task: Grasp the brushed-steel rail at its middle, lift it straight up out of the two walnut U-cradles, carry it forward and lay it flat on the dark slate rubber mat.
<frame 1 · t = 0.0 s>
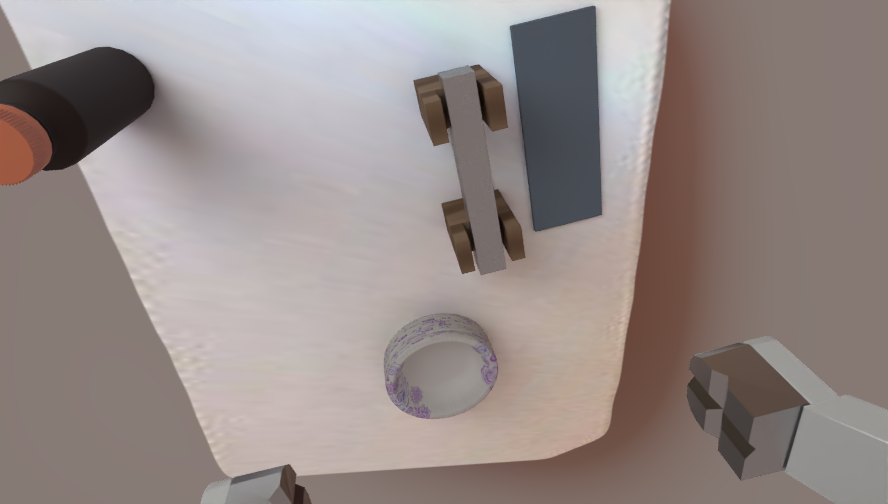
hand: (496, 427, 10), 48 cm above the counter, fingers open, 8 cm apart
cradles: (461, 154, 58), on the counter
mat: (560, 130, 58), on the counter
paper bowls: (434, 340, 72), on the counter
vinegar: (118, 82, 49), on the counter
rail: (472, 174, 53), point 6 cm above the counter, touching cradles
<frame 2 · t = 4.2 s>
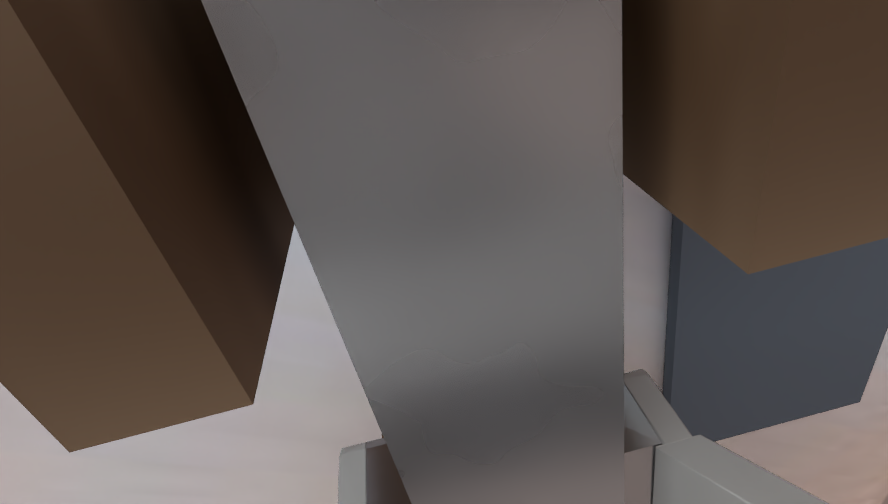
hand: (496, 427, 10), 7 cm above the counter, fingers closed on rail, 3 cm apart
cradles: (445, 257, 15), on the counter
mat: (808, 164, 16), on the counter
rail: (489, 405, 10), point 6 cm above the counter, touching cradles, gripper
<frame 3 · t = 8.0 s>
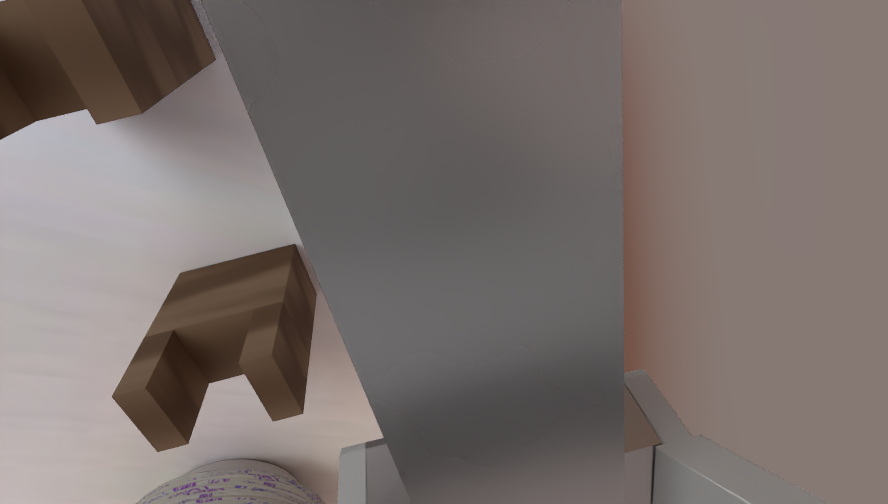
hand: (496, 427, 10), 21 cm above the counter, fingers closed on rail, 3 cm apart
cradles: (196, 177, 27), on the counter
paper bowls: (240, 491, 42), on the counter
rail: (490, 406, 10), point 20 cm above the counter, touching gripper
when the fingers open (3 cm above the counter, at t = 12.1 s): rail drops 1 cm, resting on mat.
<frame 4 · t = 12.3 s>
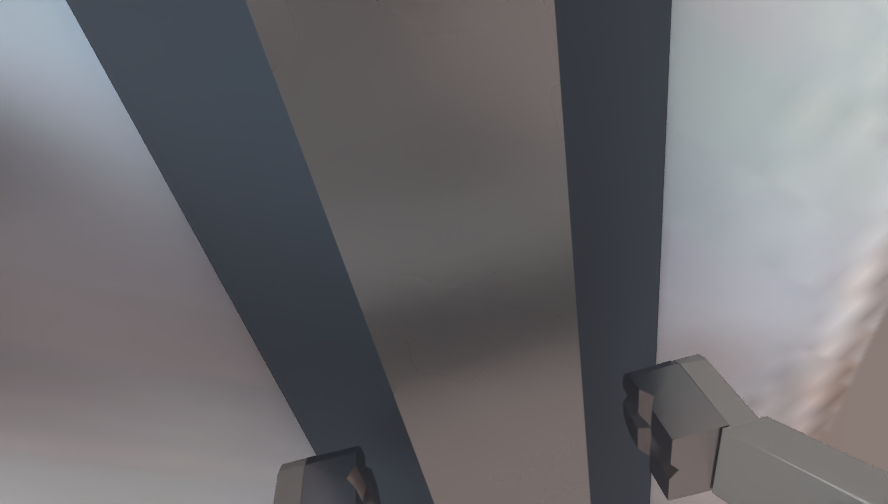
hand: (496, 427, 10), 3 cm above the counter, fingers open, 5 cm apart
mat: (470, 339, 12), on the counter
rail: (474, 357, 12), point 1 cm above the counter, touching mat
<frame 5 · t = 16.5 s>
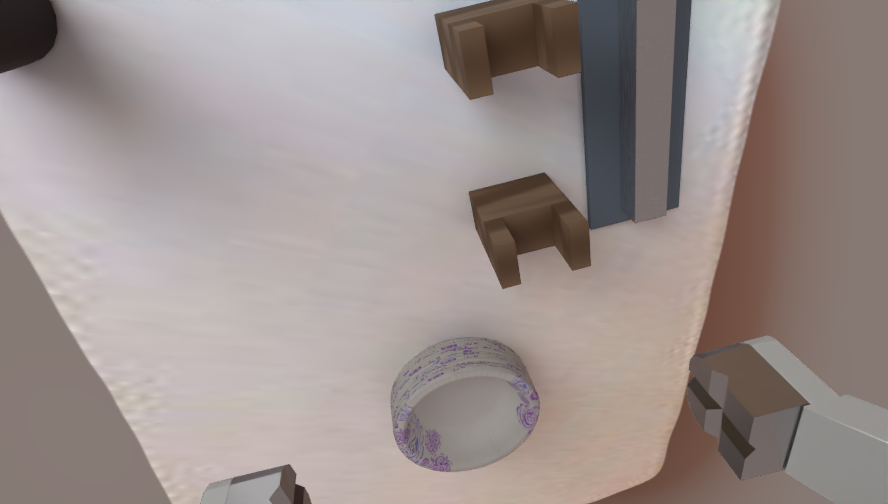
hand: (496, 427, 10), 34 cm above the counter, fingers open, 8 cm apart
cradles: (498, 124, 42), on the counter
mat: (632, 90, 42), on the counter
paper bowls: (454, 369, 56), on the counter
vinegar: (2, 9, 33), on the counter
rail: (635, 92, 42), point 1 cm above the counter, touching mat
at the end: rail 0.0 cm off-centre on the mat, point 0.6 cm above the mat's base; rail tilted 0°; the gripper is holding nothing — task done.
